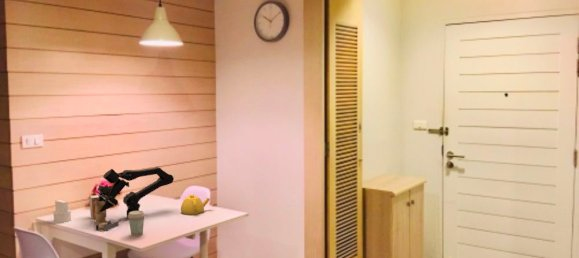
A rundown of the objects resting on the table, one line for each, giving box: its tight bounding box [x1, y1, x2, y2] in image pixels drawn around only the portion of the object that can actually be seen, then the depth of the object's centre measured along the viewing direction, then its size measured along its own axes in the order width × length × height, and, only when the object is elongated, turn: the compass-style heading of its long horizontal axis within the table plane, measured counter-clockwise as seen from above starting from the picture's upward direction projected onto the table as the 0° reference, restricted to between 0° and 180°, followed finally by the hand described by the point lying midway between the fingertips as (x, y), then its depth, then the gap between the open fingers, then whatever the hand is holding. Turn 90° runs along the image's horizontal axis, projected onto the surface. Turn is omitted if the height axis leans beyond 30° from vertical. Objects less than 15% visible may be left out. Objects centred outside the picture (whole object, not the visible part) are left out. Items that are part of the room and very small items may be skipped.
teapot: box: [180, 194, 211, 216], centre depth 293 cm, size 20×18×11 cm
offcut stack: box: [97, 223, 107, 232], centre depth 257 cm, size 4×3×4 cm
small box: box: [89, 194, 107, 220], centre depth 281 cm, size 8×6×13 cm
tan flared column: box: [95, 201, 107, 224], centre depth 268 cm, size 4×4×12 cm
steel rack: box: [95, 220, 120, 232], centre depth 260 cm, size 11×6×2 cm, turn 160°
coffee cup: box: [127, 210, 146, 237], centre depth 248 cm, size 9×8×12 cm
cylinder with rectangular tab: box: [53, 199, 72, 224], centre depth 273 cm, size 9×9×12 cm
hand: (97, 209), depth 267 cm, fingers open, 9 cm apart
